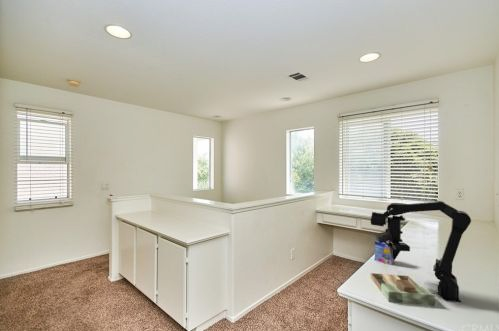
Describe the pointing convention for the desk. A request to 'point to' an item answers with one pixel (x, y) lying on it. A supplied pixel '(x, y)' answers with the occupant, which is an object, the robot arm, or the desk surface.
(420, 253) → the desk surface
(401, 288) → the walnut brick
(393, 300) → the trap board
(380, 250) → the ink cartridge box
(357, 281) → the desk surface
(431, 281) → the desk surface
